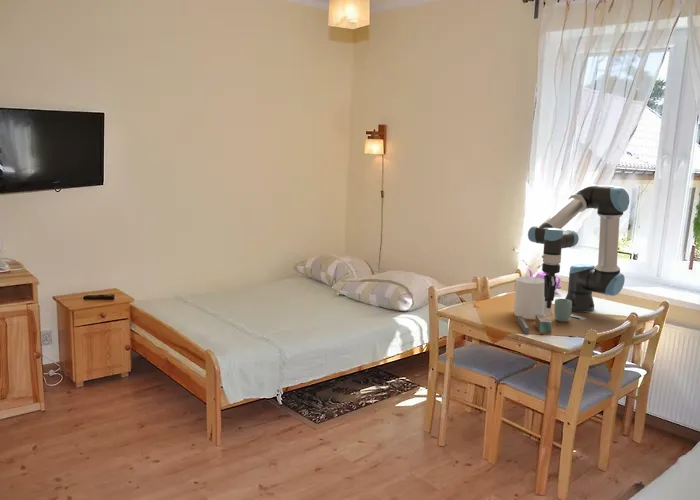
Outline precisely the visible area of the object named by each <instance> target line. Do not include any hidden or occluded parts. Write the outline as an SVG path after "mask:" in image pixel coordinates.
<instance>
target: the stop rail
mask: <svg viewBox="0 0 700 500" xmlns="http://www.w3.org/2000/svg"><path fill="white" fill-rule="evenodd" d="M517 323H518V324H519V326H520V327H521V329H522V331H523V333H524V335H529V331H530V327H529V326H528V324H527V323H526V321H525V318H522V316H517Z"/></svg>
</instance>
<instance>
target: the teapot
mask: <svg viewBox="0 0 700 500" xmlns="http://www.w3.org/2000/svg"><path fill="white" fill-rule="evenodd" d="M526 269H527V270H528V272H529V277H537V278H542V279H544V275H546V272H543V271H539V272H537V274H535V276H534V275H533V274H534V273H533V271H532V269H531V268H526ZM555 277H556V280H555V281H556V286H555V291H556V290H560V289H562V285H561V284H560V283H561V280H562V279H561V277H560V276H559V275H556V274H555Z"/></svg>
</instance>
